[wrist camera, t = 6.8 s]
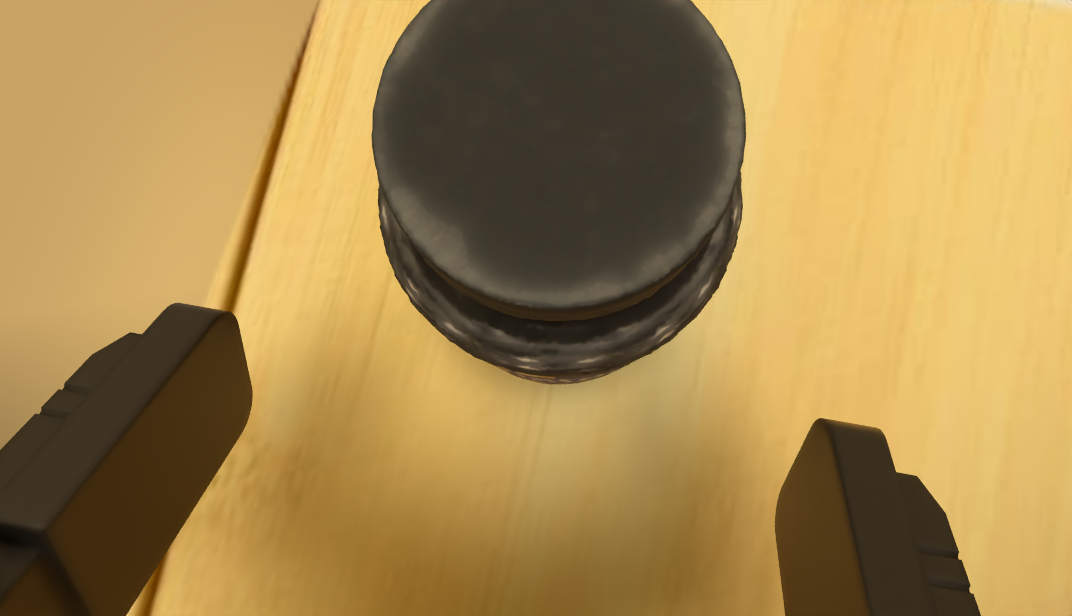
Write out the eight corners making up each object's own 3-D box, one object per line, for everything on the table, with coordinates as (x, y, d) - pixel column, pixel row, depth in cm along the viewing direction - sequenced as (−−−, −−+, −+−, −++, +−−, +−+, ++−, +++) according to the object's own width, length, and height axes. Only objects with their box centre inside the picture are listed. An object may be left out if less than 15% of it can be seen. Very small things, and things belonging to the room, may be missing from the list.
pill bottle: (451, 387, 20) (302, 377, 9) (447, 168, 20) (308, -96, 9) (680, 381, 19) (827, 362, 8) (669, 159, 20) (790, -124, 9)
